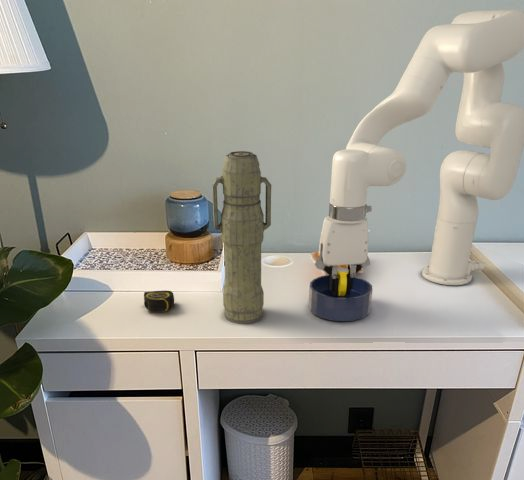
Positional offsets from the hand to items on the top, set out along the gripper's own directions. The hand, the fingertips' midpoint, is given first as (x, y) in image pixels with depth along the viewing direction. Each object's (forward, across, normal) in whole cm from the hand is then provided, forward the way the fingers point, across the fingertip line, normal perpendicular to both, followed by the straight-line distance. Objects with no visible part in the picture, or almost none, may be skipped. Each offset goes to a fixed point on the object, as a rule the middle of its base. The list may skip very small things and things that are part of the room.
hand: (340, 292), depth 126 cm
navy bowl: (+4, 0, 0) cm, 4 cm away
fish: (+5, -5, -19) cm, 20 cm away
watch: (+1, 0, 0) cm, 1 cm away
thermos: (+5, +22, -1) cm, 23 cm away
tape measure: (+5, +41, -8) cm, 42 cm away
